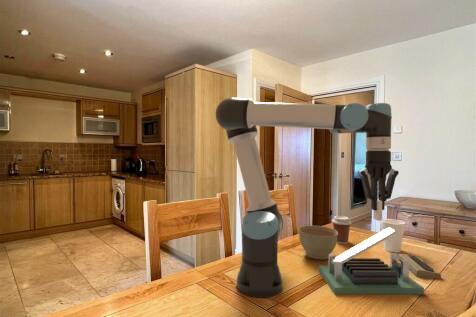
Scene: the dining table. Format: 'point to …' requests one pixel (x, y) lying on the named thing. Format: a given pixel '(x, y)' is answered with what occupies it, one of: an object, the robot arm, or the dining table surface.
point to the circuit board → (350, 288)
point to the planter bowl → (318, 241)
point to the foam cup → (396, 240)
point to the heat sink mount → (370, 270)
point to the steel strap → (364, 246)
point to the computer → (419, 267)
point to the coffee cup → (341, 228)
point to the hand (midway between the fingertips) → (377, 219)
